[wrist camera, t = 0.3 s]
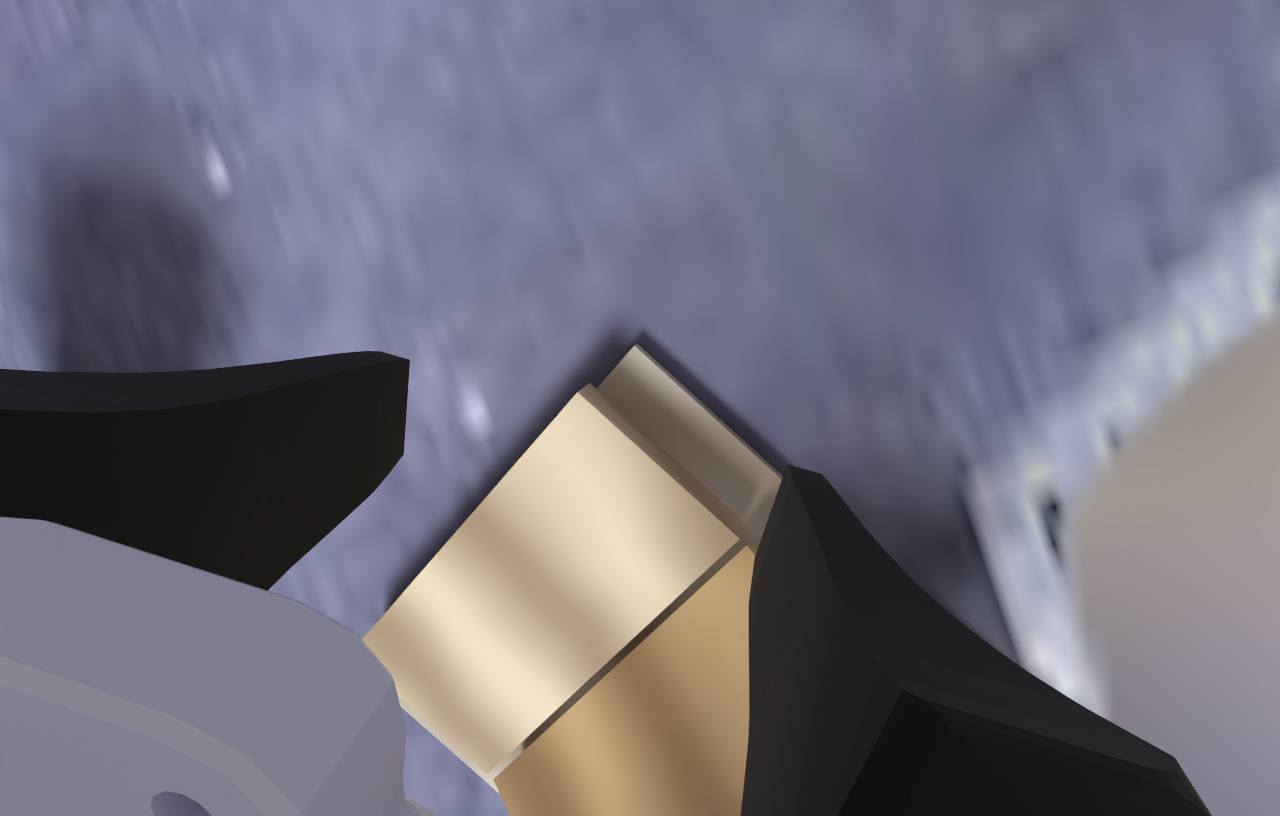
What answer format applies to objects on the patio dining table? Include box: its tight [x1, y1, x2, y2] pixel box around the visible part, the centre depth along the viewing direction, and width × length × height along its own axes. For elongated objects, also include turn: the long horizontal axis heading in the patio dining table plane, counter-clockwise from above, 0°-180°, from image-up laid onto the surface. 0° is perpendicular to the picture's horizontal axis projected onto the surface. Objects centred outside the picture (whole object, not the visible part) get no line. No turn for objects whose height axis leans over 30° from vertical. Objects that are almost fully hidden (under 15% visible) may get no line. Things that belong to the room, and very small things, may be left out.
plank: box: [493, 544, 759, 816], centre depth 22 cm, size 14×9×2 cm
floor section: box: [362, 344, 783, 792], centre depth 24 cm, size 18×20×2 cm
